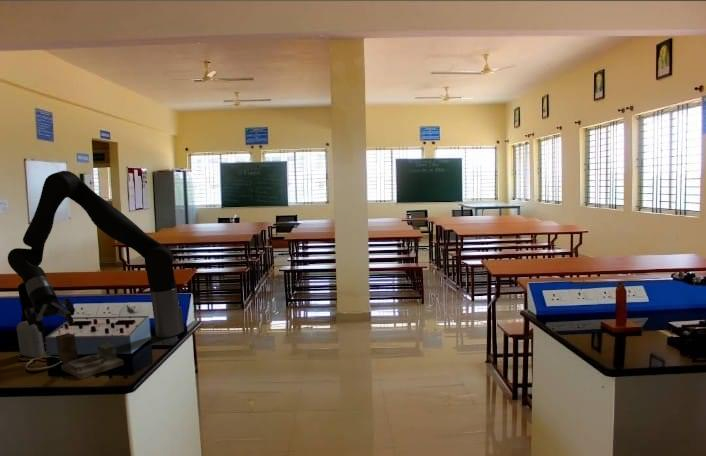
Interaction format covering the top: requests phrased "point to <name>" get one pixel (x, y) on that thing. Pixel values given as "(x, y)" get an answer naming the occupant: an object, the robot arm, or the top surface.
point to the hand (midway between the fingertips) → (57, 328)
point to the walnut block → (66, 348)
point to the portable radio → (25, 302)
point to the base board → (94, 362)
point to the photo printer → (30, 340)
